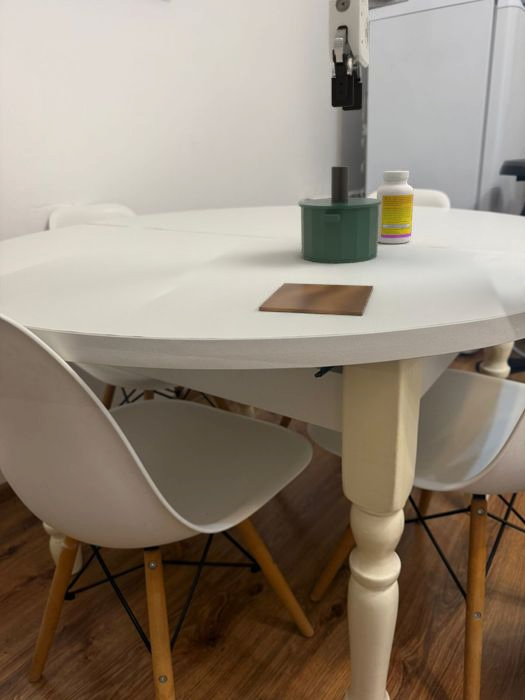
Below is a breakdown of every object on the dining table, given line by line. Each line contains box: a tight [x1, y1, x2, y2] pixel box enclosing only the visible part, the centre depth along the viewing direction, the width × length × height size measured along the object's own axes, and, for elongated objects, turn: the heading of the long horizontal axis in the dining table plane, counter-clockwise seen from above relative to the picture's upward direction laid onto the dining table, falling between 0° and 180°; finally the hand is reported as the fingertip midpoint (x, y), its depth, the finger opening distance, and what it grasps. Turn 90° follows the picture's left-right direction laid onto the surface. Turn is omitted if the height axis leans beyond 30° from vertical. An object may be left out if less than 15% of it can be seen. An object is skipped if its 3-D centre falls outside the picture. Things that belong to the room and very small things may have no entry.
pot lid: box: [298, 165, 382, 209], centre depth 88 cm, size 14×14×7 cm
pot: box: [300, 205, 379, 264], centre depth 91 cm, size 13×18×8 cm
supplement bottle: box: [376, 170, 414, 245], centre depth 101 cm, size 7×7×13 cm
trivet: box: [258, 282, 374, 316], centre depth 66 cm, size 12×12×1 cm
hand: (347, 108), depth 84 cm, fingers open, 9 cm apart
